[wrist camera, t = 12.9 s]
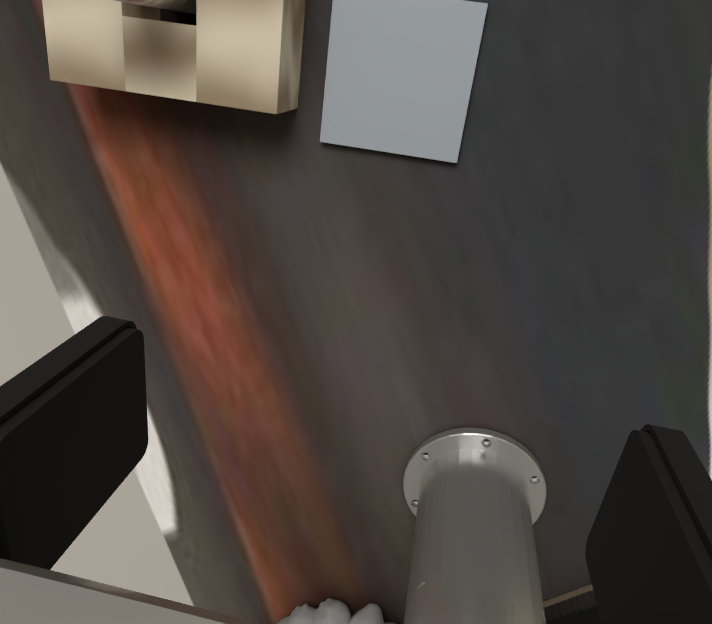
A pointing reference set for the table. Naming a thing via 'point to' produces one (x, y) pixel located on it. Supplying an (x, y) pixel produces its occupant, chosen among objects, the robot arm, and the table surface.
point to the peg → (167, 4)
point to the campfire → (334, 614)
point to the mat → (401, 75)
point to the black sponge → (573, 608)
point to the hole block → (182, 50)
